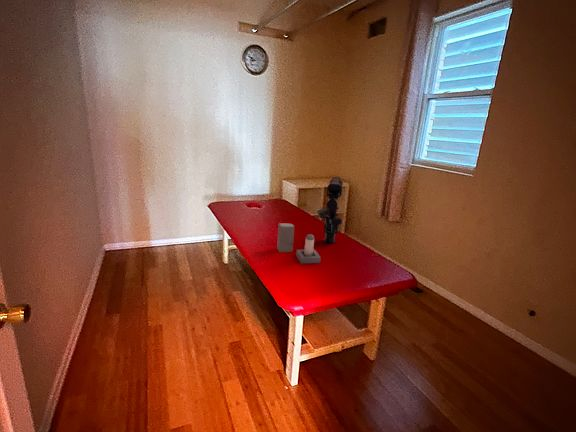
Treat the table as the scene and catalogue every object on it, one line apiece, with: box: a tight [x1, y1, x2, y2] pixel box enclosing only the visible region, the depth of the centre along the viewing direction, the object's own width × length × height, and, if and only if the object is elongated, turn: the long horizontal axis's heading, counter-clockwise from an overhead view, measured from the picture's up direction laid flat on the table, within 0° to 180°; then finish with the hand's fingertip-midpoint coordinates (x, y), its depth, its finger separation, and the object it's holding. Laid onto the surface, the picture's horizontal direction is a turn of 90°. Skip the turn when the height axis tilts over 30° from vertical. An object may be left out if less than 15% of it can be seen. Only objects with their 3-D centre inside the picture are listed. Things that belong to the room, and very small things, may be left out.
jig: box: [295, 248, 322, 264], centre depth 177 cm, size 11×11×3 cm
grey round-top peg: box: [303, 233, 315, 256], centre depth 175 cm, size 5×5×13 cm
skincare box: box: [276, 222, 295, 253], centre depth 185 cm, size 8×7×16 cm
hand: (329, 230), depth 187 cm, fingers open, 9 cm apart
